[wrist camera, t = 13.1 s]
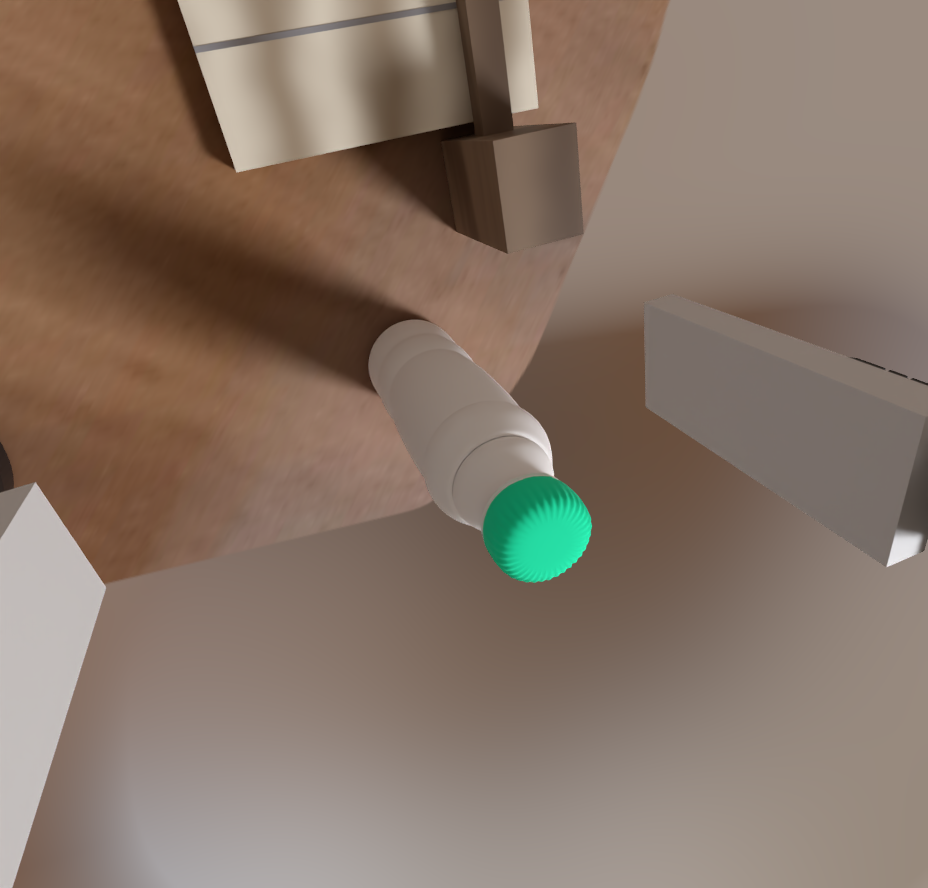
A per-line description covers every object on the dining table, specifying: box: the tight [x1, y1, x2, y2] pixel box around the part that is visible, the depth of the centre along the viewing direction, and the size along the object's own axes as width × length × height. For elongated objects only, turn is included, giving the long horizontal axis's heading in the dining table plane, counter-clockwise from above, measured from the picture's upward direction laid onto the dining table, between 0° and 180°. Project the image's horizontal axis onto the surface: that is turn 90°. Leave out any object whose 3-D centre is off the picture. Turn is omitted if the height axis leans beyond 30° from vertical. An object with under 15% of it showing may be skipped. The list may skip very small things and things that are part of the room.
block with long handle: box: [441, 0, 584, 254], centre depth 36 cm, size 5×14×10 cm, turn 10°
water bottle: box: [368, 320, 592, 583], centre depth 36 cm, size 7×7×25 cm
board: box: [178, 0, 538, 172], centre depth 35 cm, size 20×11×2 cm, turn 100°
